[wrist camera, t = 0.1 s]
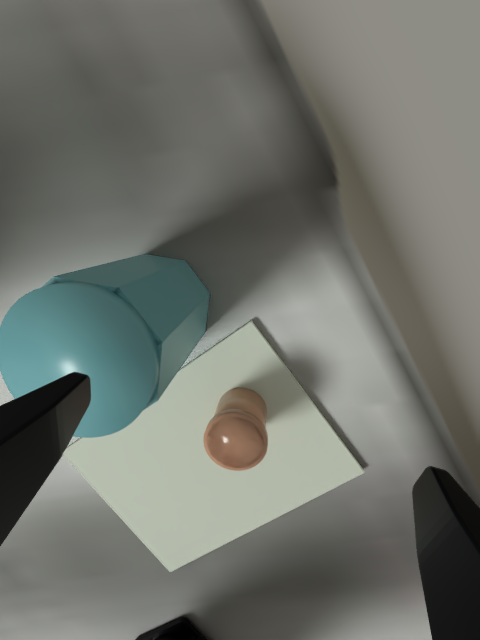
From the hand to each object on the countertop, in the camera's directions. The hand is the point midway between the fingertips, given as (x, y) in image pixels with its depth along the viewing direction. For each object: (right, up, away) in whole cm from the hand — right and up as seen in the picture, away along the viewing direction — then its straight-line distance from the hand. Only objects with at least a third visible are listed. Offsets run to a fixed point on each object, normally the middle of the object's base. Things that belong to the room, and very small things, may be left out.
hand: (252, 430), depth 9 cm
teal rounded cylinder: (-6, +4, +16) cm, 17 cm away
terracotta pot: (0, -4, +17) cm, 17 cm away
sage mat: (-3, -8, +19) cm, 20 cm away
